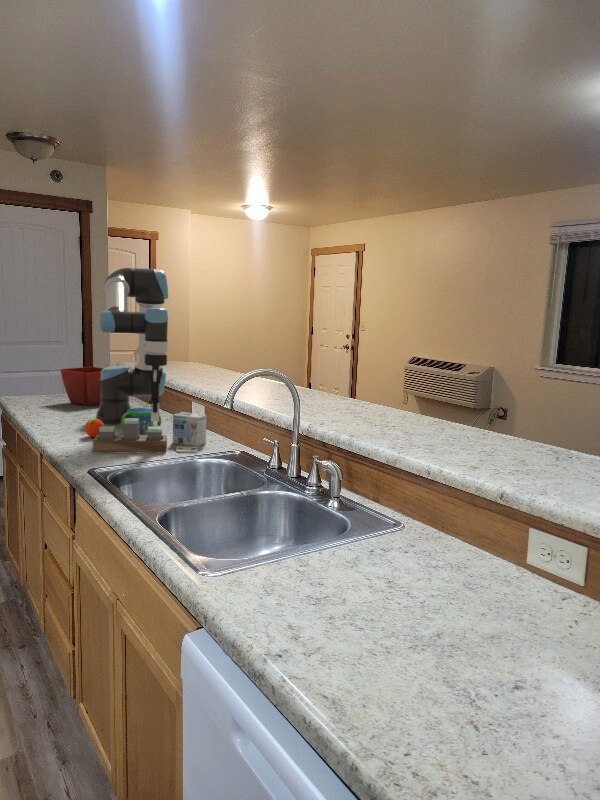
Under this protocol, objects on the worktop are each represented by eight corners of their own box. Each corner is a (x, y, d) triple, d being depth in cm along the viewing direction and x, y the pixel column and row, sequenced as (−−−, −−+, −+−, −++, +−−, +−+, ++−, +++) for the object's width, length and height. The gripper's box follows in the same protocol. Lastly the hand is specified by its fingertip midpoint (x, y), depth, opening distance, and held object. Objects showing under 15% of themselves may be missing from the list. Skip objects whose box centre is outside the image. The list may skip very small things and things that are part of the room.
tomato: (96, 440, 219) (96, 421, 218) (79, 438, 220) (79, 419, 219) (107, 435, 227) (107, 417, 226) (91, 434, 228) (91, 415, 227)
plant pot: (85, 408, 283) (84, 372, 280) (59, 403, 293) (59, 368, 290) (117, 403, 299) (117, 370, 296) (92, 399, 309) (92, 366, 306)
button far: (148, 446, 211) (148, 426, 210) (161, 446, 212) (162, 426, 211) (147, 449, 207) (147, 429, 206) (161, 449, 208) (161, 429, 207)
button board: (97, 445, 211) (97, 434, 210) (166, 445, 215) (167, 435, 215) (92, 452, 201) (92, 440, 200) (166, 452, 206) (166, 441, 205)
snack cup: (156, 432, 237) (156, 406, 236) (165, 437, 229) (166, 411, 227) (116, 435, 229) (116, 408, 227) (125, 440, 220) (125, 413, 219)
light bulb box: (171, 443, 220) (172, 414, 219) (181, 439, 227) (182, 411, 225) (197, 446, 217) (198, 417, 215) (206, 443, 223) (207, 414, 221)
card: (176, 448, 212) (176, 446, 212) (196, 448, 213) (196, 446, 213) (176, 452, 206) (176, 450, 206) (197, 452, 208) (197, 450, 207)
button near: (101, 445, 208) (101, 426, 207) (114, 445, 209) (114, 426, 208) (99, 449, 204) (99, 428, 203) (113, 449, 205) (113, 429, 204)
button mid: (124, 437, 209) (125, 418, 208) (138, 437, 210) (138, 418, 209) (123, 440, 205) (123, 420, 204) (137, 440, 206) (137, 420, 205)
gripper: (145, 351, 210) (145, 417, 214) (143, 355, 198) (142, 424, 201) (167, 352, 212) (166, 417, 216) (166, 355, 199) (165, 425, 203)
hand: (155, 421), depth 208 cm, fingers closed
